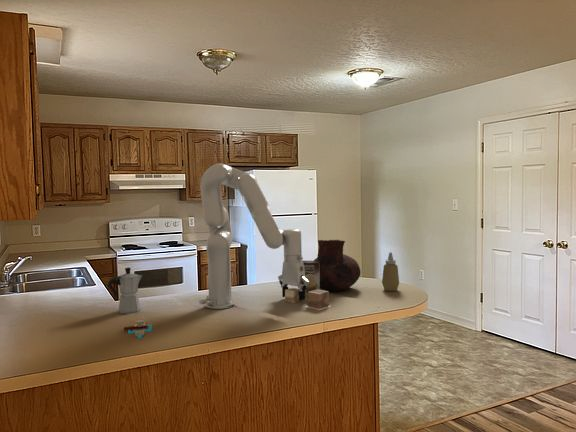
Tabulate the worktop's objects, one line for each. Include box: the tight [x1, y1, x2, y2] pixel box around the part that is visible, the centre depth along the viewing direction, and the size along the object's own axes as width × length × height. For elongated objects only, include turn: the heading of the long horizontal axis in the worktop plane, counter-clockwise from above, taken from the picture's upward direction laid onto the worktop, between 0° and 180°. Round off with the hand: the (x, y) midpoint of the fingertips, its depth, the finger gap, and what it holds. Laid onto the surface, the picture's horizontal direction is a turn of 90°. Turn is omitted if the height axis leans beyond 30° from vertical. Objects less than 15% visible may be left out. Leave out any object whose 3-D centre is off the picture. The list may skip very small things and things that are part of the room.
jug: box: [313, 239, 361, 292], centre depth 224 cm, size 25×25×25 cm
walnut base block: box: [307, 289, 330, 310], centre depth 188 cm, size 6×6×6 cm
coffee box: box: [301, 260, 321, 296], centre depth 210 cm, size 9×6×16 cm
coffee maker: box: [107, 267, 143, 315], centre depth 190 cm, size 15×9×18 cm, turn 135°
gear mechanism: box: [123, 315, 153, 340], centre depth 166 cm, size 20×5×9 cm
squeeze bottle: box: [381, 251, 400, 292], centre depth 219 cm, size 8×8×18 cm
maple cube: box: [284, 287, 300, 304], centre depth 198 cm, size 5×5×5 cm
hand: (293, 298), depth 198 cm, fingers open, 9 cm apart
